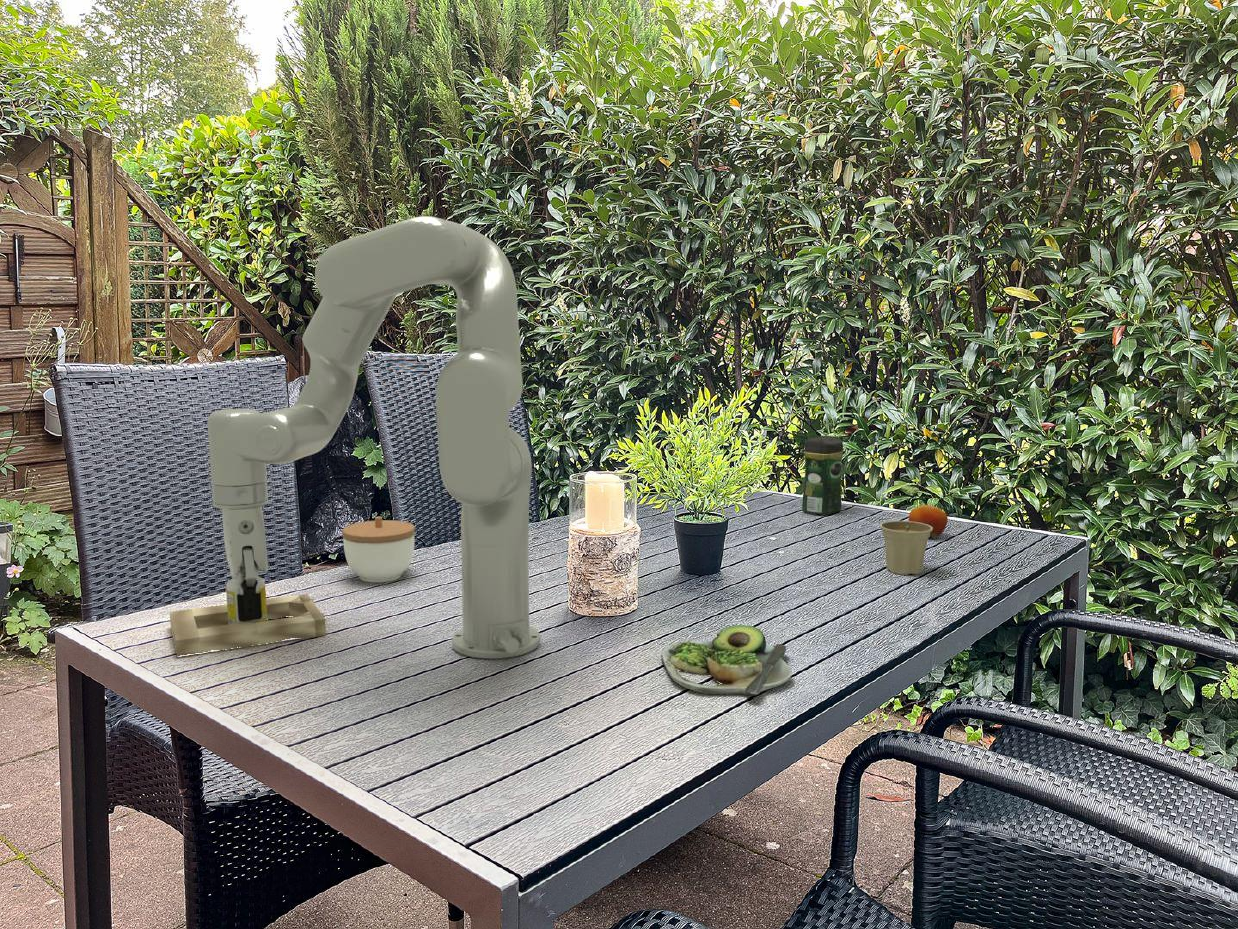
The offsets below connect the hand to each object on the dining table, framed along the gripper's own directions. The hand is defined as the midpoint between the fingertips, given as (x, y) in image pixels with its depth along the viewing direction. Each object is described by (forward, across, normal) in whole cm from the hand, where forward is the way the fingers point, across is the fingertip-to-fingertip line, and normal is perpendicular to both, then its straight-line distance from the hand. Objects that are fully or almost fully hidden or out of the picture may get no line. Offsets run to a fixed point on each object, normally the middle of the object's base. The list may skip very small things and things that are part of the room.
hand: (247, 612), depth 140 cm
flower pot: (+3, -19, -113) cm, 115 cm away
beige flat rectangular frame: (+3, 0, 0) cm, 3 cm away
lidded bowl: (+3, +20, -25) cm, 32 cm away
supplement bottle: (+3, 0, 0) cm, 3 cm away
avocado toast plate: (+4, -45, -55) cm, 71 cm away
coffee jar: (+3, +29, -134) cm, 137 cm away
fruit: (+4, -1, -138) cm, 138 cm away
